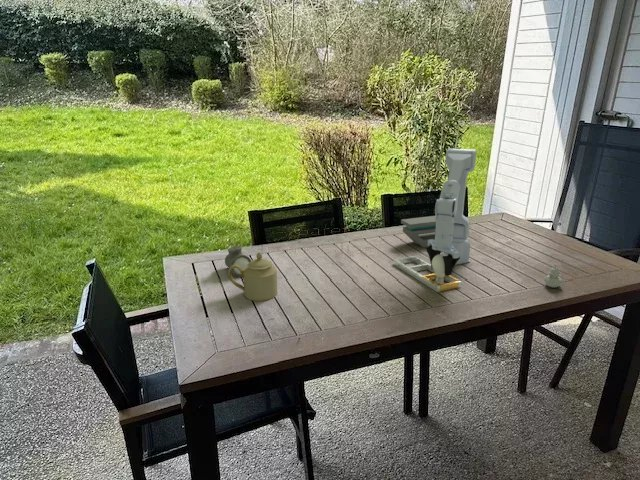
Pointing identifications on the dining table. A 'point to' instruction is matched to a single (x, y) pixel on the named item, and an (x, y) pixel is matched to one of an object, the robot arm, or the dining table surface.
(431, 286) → the rack
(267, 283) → the sugar bowl
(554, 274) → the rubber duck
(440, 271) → the lightbulb
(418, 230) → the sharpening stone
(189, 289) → the dining table surface
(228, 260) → the pipe fitting
